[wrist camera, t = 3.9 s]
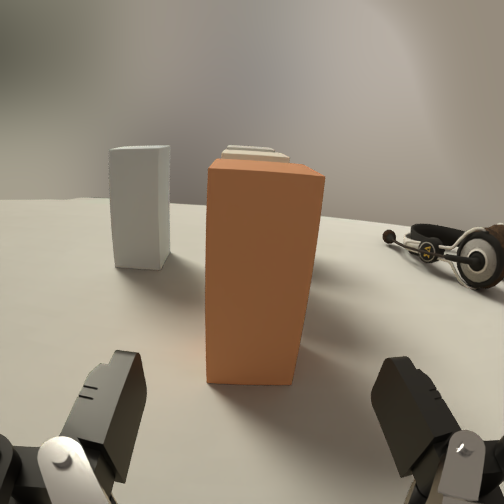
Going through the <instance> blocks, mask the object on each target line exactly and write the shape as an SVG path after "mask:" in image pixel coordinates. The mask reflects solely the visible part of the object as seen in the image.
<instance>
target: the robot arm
mask: <svg viewBox="0 0 504 504" xmlns="http://www.w3.org/2000/svg"><path fill="white" fill-rule="evenodd" d="M146 397H147V387H146V382H145V377H144V372H143V366H142V361H141V356H140V354H139V353H137V352H129V351H121V350H116V351H115V352H114V354H113V356H112V358H111V360H110V362H109V364H102V363H100V364H99V365H98V366H97V367H95V368H94V369H93V370H92V371H91V372H90V373H89V374H88V376H87V378H86V380H85V383H84V385H83V387H82V389H81V391H80V393H79V397H77V399H76V401H75V403H74V405H73V407H72V410H71V412H70V414H69V416H68V418H67V421H66V423H65V425H64V427H63V429H62V432H61V433H60V435H59V436H58V437H54V438H51V439H49V440H47V441H46V442H45V443H43V445H42V446H41V447H23V446H13V445H12V444H11V443H10V441H9V440H8V439H7V438H6V437H5V436H3V435H1V434H0V504H118V503H117V501H116V500H115V498H114V496H113V494H112V488H113V484H114V481H115V482H120V483H124V484H125V482H126V478H127V473H128V469H129V465H130V461H131V457H132V453H133V449H134V445H135V441H136V437H137V433H138V429H139V426H140V422H141V418H142V414H143V411H144V407H145V403H146ZM441 397H442V396H441V395H440V393H439V392H438V390H436V387H435V385H434V384H433V382H432V380H431V379H430V377H428V376H427V375H426V374H425V373H423V372H422V371H421V370H420V369H416V368H415V366H414V365H413V363H412V361H411V360H410V359H409V358H408V357H407V356H403V357H393V358H387V359H385V361H384V362H383V365H382V367H381V370H380V372H379V374H378V377H377V379H376V381H375V384H374V386H373V389H372V392H371V402H372V406H373V408H374V411H375V413H376V416H377V418H378V421H379V423H380V425H381V428H382V430H383V433H384V435H385V438H386V440H387V443H388V446H389V448H390V451H391V453H392V456H393V458H394V461H395V464H396V466H397V469H398V472H399V474H400V477H401V478H402V477H405V476H409V475H412V474H413V476H414V478H415V480H414V481H413V482H412V484H411V486H410V489H409V491H408V494H407V496H406V499H405V502H404V504H504V496H503V494H502V491H501V489H500V487H499V485H500V484H501V483H502V482H503V481H504V436H503V437H502V438H501V439H500V440H493V441H483V440H482V439H481V438H480V437H479V436H478V435H477V434H476V433H474V432H472V431H468V430H461V428H460V427H459V425H458V423H457V421H456V420H455V418H454V416H453V415H452V413H451V411H450V410H449V408H448V406H447V405H446V403H445V401H444V400H443V399H442V398H441Z"/></svg>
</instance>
